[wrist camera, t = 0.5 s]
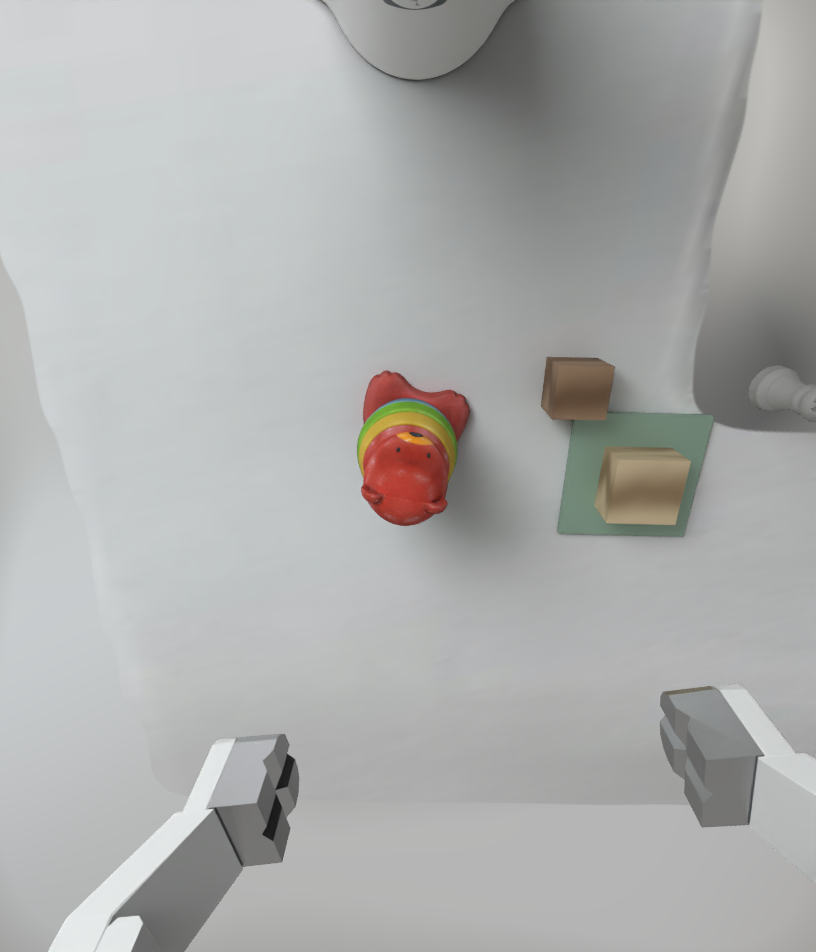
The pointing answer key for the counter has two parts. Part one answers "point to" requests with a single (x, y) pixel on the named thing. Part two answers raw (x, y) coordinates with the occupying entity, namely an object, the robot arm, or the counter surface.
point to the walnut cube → (577, 388)
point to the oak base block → (641, 485)
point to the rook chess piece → (783, 392)
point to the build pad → (627, 431)
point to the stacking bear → (408, 448)
